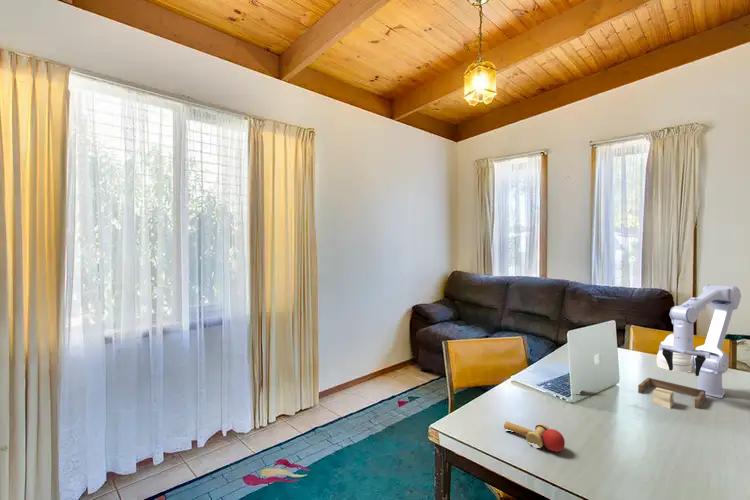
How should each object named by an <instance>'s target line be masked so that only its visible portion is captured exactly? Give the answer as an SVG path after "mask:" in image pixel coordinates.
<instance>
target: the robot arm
mask: <svg viewBox="0 0 750 500" xmlns="http://www.w3.org/2000/svg"><path fill="white" fill-rule="evenodd" d="M741 298H742V293H741V290H740V288H739V287H737V286H735V285H734V286H731V285H729V286H728V285H727V286H726V285H717V284H715V285H714V284H706V285H704V286H703V288H702V293H700V294H699V295H698V296H697V297H692V296H691V297H690V298H689V299H688V300H686V301H685V302H684V303H682V304H680V305H675V306H672V307H671V308H670V311H669V314H668V315H669V317H670V319H671V324H672V325H673V334H674V346H668V345H662V344H659V345H658V346H659V347H658V351H659V350H662V351H663V352H662V354H663V356H664V357H665V359H666V361H667V363H668V366H669V370H671V371H672V370H673V352H675V353H681V354H687V355H689V356H690V359H691V363H692V367H693V366H694V369H695V373H694V374H695V375H694V376H695V377H697V378H696V381H697V382H696V385H697V386H696V388H695V389H700V390H704V391H705V396H710V397H712V398H713V397H715V398H718V399H723V397H724V396H725V394H726V390H723V374H725V373H726V372H727V371H728V370H729V365H730V364H729V359H730V357H729V355H728V354H727V353H726V352H725V351H724V350H723V349H722V348H723V345H724V342H725V338H726V334H727V332H728V327H729V325H730V322H731V318H732V315H733V312H734V310H738V308H739V305H740V302H741V300H742V299H741ZM707 305H709V306H710V307H711V308H713V309H714V312H713V315H712V317H711V321H710V325H709V328H708V331H707V335H706V337H705V341H704V344H702V345H698V346H696V347H694V344H695V343H694V323H695V322H696V321H697V319H698V317H699V315H700V314H701V313H702V312H703V311H705V310H706V309H707ZM694 348H695V349H694ZM671 371H670V372H671Z"/></svg>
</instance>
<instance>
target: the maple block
mask: <svg viewBox="0 0 750 500" xmlns="http://www.w3.org/2000/svg"><path fill="white" fill-rule="evenodd" d="M674 393H675V392H673V391H669V390H665V389H661V388H657V387H655V389H653V390H652V404H653V405H656V406H659V407H663V408H667V409H671V408H673V406H674V404H675V403H674V397H675V396H674Z"/></svg>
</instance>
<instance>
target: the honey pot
mask: <svg viewBox="0 0 750 500" xmlns="http://www.w3.org/2000/svg"><path fill="white" fill-rule="evenodd" d="M660 345H668V346H674V333H670V334H668V335H667V336H666V337H665V339H664V340H663V341H660ZM662 352H663V351H662V350H659V349H658V352H657V354H656V367H657V366H658V367H657V368H659V367H660V368H659V369H661V368H663V369H666V370H665V371H667V370H669V366H668V363H667V361H666V359H665V357H664V356H663V354H662ZM663 369H662V370H663ZM691 370H692V371H693V364H692V363H691V355H687V354H681V353H675V352H673V370H672V371H677V372H688V371H691ZM669 372H671V370H670V371H669ZM677 372H676V373H677Z"/></svg>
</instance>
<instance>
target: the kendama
mask: <svg viewBox="0 0 750 500" xmlns="http://www.w3.org/2000/svg"><path fill="white" fill-rule="evenodd" d="M504 428H505V429H508V430H511V431H513V432H516V433H515V434H517V433H519V434H518V435H523V436H526V437H525V438H526V441H527V443H528V442H530V443H534V444H537V445H538V446H539V447H540V449H541V448H543V447H544V446H545V448H547V450H549V451H550V450H551V452H553V451H555V452H554V453H559V451H560V452H561V450H562V451H563V450H564V449H565V445H566V444H565V442H566V441H565V438H564V436H563V435H562V433H561V432H559V431H558V430H557V429H553V428H550V427H548V426H547V425H545V424H544V423H537V424H536V425H535V431H534V430H531V429H529V428H527V427H524V426H521V425H519V424H515V423H514V422H513V423H512V422H510V421H505V422H504V425H503V429H504ZM505 429H504V430H505Z"/></svg>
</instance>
